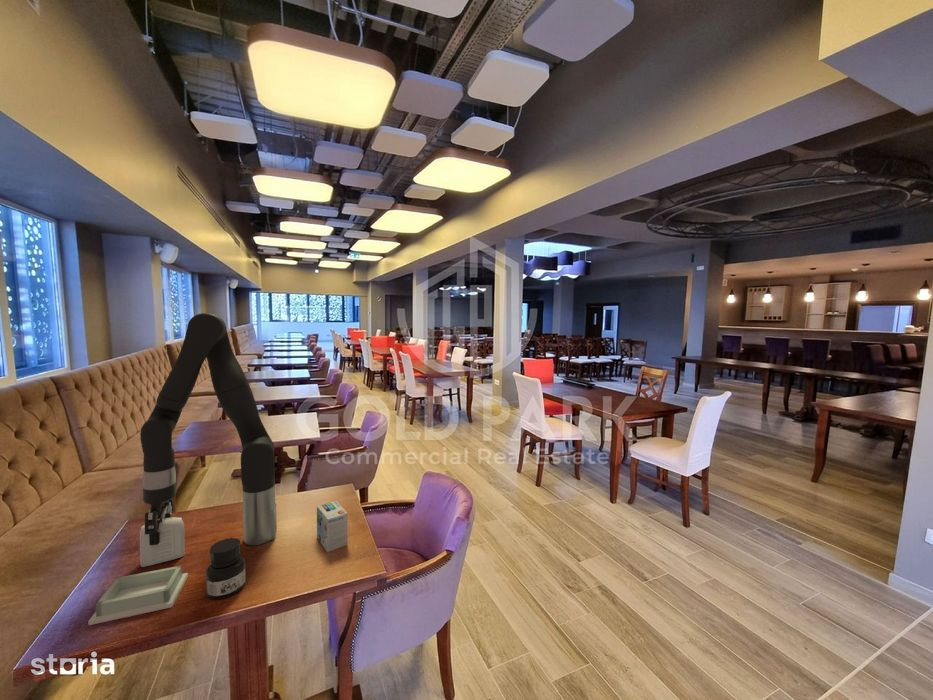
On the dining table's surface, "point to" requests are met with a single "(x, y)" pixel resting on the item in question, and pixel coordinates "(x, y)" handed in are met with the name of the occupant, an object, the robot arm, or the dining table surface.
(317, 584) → the dining table surface
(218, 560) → the ink bottle
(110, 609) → the printer dock
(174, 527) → the photo printer
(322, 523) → the light bulb box
